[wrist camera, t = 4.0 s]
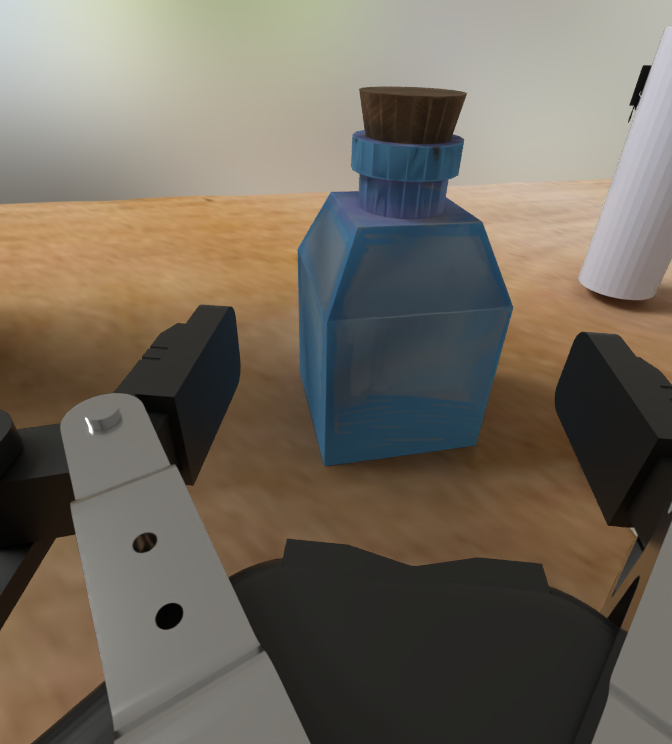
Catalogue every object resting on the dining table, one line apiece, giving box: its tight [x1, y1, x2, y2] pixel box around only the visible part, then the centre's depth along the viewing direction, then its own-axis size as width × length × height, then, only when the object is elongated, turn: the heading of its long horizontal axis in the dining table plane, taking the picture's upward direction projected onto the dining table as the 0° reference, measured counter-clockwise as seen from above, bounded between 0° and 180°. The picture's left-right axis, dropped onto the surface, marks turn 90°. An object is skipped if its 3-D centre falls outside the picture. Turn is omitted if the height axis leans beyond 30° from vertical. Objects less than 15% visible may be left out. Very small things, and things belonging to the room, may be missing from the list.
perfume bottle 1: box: [298, 87, 513, 466], centre depth 17 cm, size 6×6×12 cm
